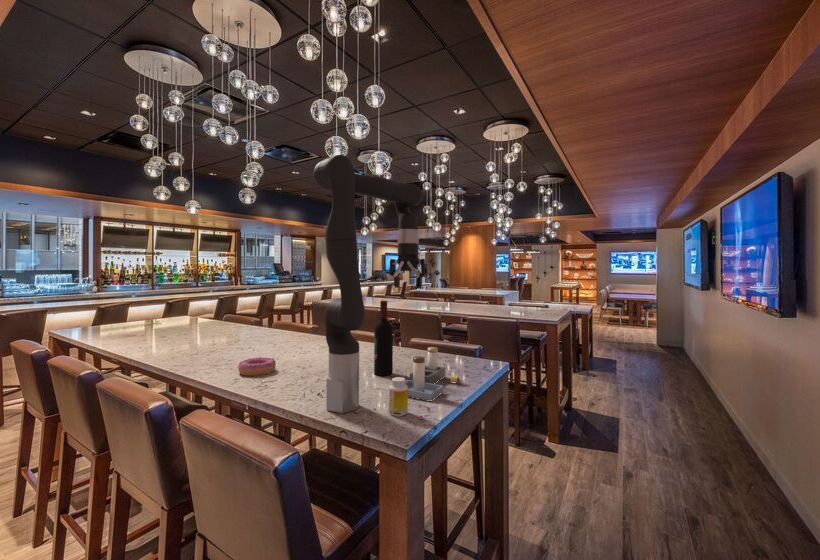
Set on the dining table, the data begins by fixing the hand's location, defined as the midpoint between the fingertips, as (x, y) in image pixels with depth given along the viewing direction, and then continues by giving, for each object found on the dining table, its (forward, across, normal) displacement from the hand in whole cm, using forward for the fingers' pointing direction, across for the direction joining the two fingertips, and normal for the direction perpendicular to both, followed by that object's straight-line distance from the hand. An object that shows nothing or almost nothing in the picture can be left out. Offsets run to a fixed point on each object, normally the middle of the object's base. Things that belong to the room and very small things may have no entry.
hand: (407, 288), depth 130 cm
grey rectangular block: (+36, +3, +12) cm, 38 cm away
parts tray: (+36, +6, -4) cm, 37 cm away
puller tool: (+36, +12, +17) cm, 42 cm away
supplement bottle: (+36, +9, -22) cm, 43 cm away
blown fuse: (+36, +6, -4) cm, 36 cm away
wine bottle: (+36, -17, +11) cm, 42 cm away
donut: (+37, -64, -12) cm, 75 cm away
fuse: (+36, +3, +16) cm, 39 cm away
